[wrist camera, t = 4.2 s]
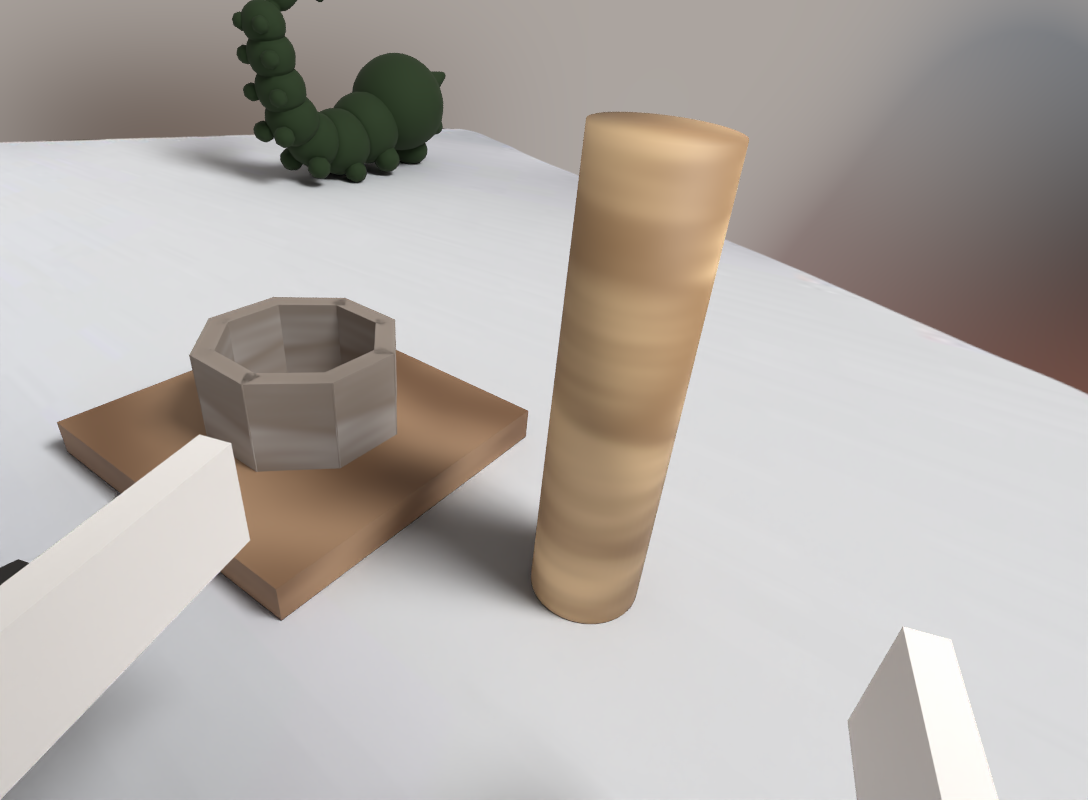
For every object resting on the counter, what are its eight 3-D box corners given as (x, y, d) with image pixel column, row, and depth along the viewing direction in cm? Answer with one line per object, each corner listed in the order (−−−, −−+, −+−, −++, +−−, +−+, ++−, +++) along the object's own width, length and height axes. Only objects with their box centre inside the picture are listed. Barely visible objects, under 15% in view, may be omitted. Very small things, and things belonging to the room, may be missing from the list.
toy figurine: (314, 219, 61) (478, 157, 78) (274, -24, 50) (476, -34, 67) (247, 196, 65) (417, 141, 82) (195, -35, 53) (405, -42, 71)
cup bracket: (329, 341, 38) (321, 250, 35) (525, 436, 32) (535, 335, 29) (67, 451, 28) (25, 335, 25) (281, 620, 22) (259, 493, 19)
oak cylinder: (567, 527, 27) (632, 107, 19) (655, 574, 25) (770, 134, 17) (509, 585, 24) (554, 119, 16) (603, 643, 22) (711, 154, 14)
